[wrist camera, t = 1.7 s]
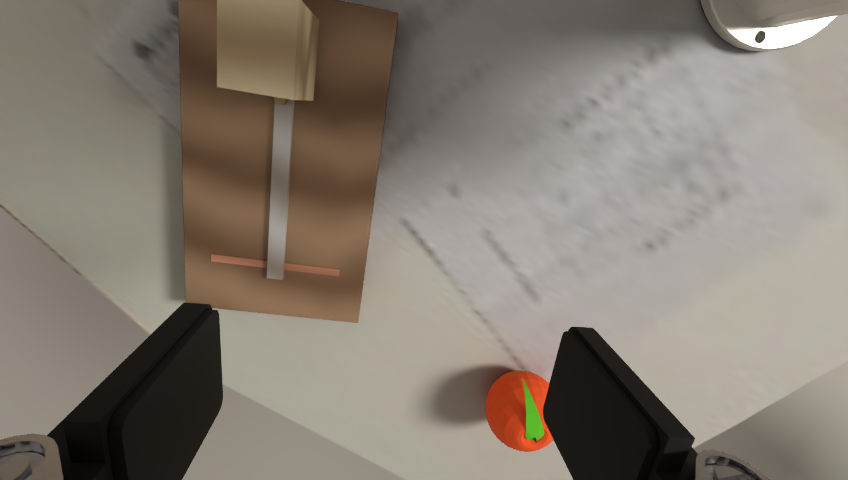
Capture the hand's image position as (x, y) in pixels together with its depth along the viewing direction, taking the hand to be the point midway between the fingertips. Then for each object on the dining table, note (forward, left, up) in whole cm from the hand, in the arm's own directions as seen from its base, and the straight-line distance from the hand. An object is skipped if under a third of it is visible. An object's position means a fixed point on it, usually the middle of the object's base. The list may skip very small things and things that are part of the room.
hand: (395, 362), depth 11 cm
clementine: (+18, +15, -23) cm, 33 cm away
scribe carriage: (-8, -8, -21) cm, 24 cm away
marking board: (0, -8, -23) cm, 25 cm away
